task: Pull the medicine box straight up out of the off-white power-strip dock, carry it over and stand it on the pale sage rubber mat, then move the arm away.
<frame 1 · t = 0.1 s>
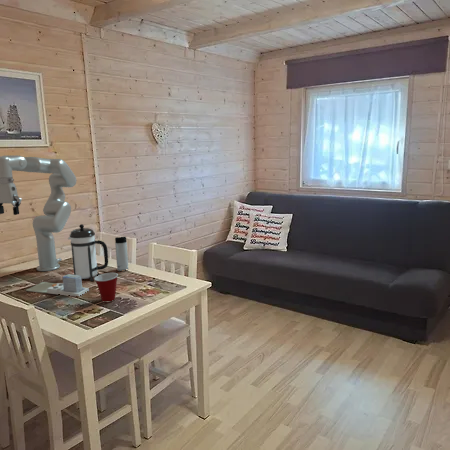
hand: (8, 214, 206), 37 cm above the table, tool pointing down, fingers open, 9 cm apart
coffee press: (88, 278, 218), on the table
plastic cup: (108, 300, 187), on the table
sage mat: (44, 287, 204), on the table
power strip dock: (73, 292, 197), on the table
travel mug: (122, 270, 231), on the table
medicine box: (73, 293, 197), resting in power strip dock
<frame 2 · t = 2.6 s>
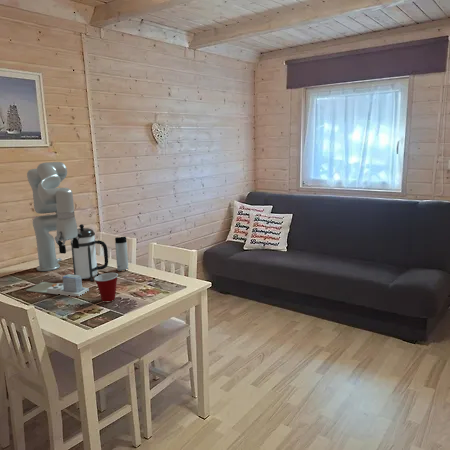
hand: (69, 250, 192), 21 cm above the table, tool pointing down, fingers open, 9 cm apart
nothing on the table moved.
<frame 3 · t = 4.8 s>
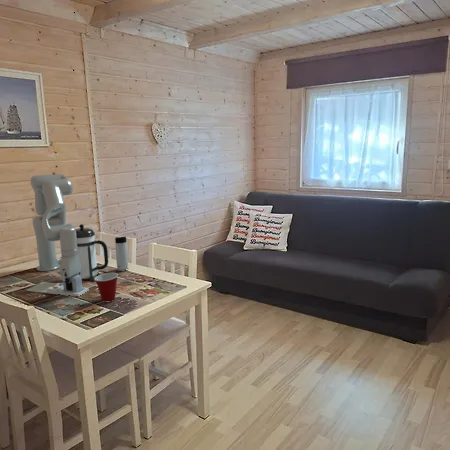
hand: (73, 288, 196), 2 cm above the table, tool pointing down, fingers closed on medicine box, 4 cm apart
medicine box: (73, 293, 197), resting in power strip dock, touching gripper
everything else where it was.
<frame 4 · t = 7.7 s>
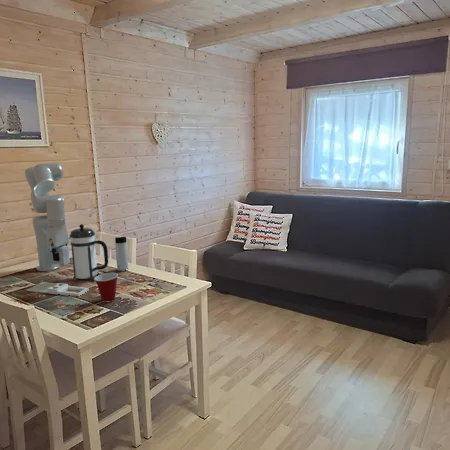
hand: (60, 258, 196), 17 cm above the table, tool pointing down, fingers closed on medicine box, 4 cm apart
medicine box: (60, 263, 197), point 14 cm above the table, touching gripper
everything else where it was.
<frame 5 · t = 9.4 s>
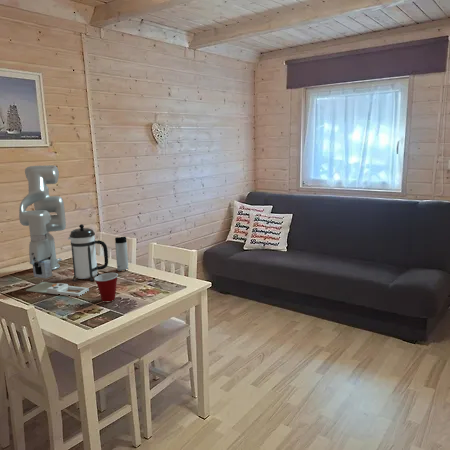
hand: (42, 272, 202), 8 cm above the table, tool pointing down, fingers closed on medicine box, 4 cm apart
medicine box: (43, 277, 203), point 6 cm above the table, touching gripper
everything else where it was.
when the fingers open (4 cm above the table, at t = 10.6 s): medicine box drops 1 cm, resting on sage mat.
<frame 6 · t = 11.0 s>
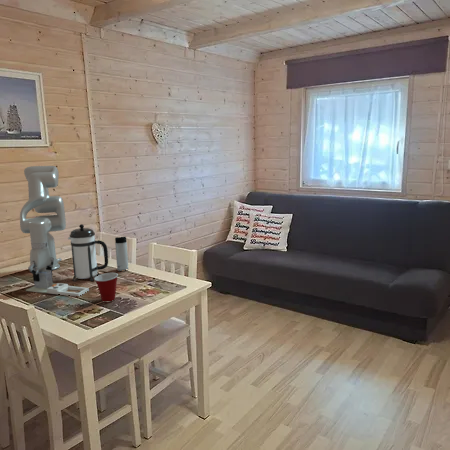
hand: (43, 278, 203), 5 cm above the table, tool pointing down, fingers open, 8 cm apart
medicine box: (44, 287, 204), resting on sage mat
everything else where it was.
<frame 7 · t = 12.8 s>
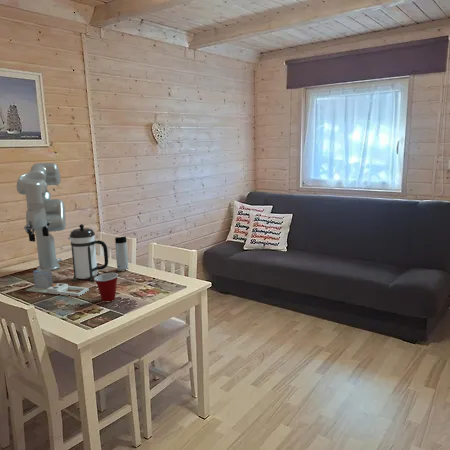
hand: (39, 238, 207), 24 cm above the table, tool pointing down, fingers open, 9 cm apart
nothing on the table moved.
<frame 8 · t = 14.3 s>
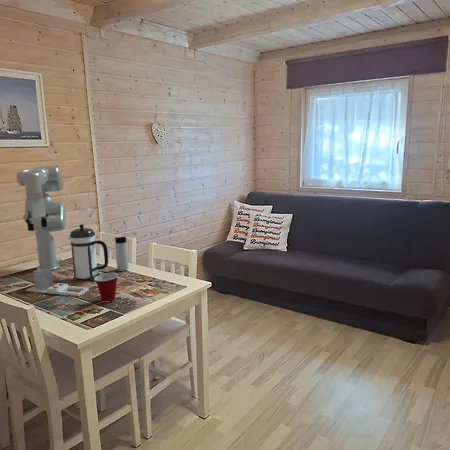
hand: (38, 228, 210), 28 cm above the table, tool pointing down, fingers open, 9 cm apart
nothing on the table moved.
at the end: medicine box inside the target area on the sage mat (0.1 cm from its centre), point 0.3 cm above the sage mat's base; medicine box tilted 0°; the gripper is holding nothing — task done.
